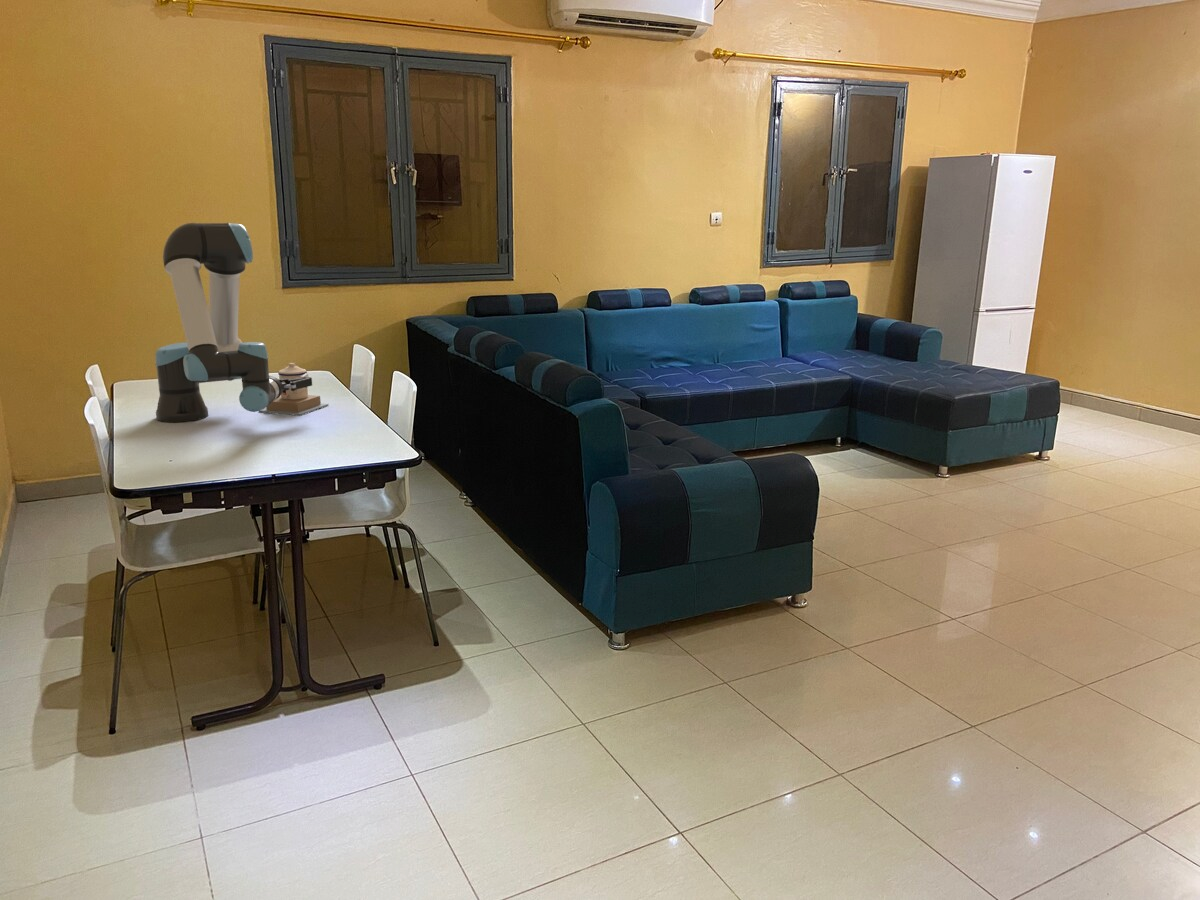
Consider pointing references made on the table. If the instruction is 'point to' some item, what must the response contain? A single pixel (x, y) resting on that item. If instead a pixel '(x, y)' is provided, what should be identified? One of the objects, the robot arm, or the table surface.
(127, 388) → the table surface
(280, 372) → the teacup with lid
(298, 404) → the build base
